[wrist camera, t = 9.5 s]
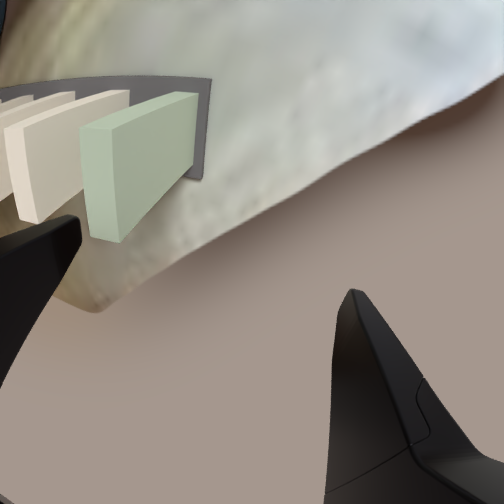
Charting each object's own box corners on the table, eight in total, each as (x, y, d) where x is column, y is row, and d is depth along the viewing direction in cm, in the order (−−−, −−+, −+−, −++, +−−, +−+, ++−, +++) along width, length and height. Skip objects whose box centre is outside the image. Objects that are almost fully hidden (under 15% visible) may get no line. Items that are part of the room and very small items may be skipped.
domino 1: (60, 92, 19) (-41, 132, 11) (75, 91, 19) (-29, 131, 11) (63, 150, 22) (-26, 208, 14) (77, 151, 22) (-14, 211, 13)
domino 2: (110, 89, 18) (3, 128, 10) (129, 89, 18) (23, 128, 10) (111, 154, 21) (19, 219, 13) (129, 156, 21) (38, 224, 13)
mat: (-16, 92, 19) (-19, 93, 19) (211, 78, 18) (209, 79, 17) (-10, 154, 23) (-12, 156, 23) (202, 177, 22) (201, 179, 22)
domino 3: (175, 91, 18) (78, 127, 10) (198, 93, 18) (111, 129, 10) (171, 161, 21) (90, 236, 13) (193, 164, 21) (119, 243, 13)
